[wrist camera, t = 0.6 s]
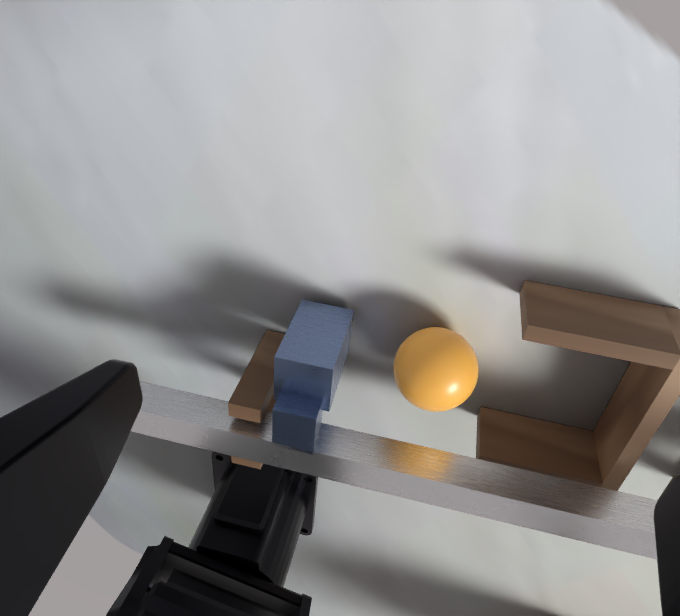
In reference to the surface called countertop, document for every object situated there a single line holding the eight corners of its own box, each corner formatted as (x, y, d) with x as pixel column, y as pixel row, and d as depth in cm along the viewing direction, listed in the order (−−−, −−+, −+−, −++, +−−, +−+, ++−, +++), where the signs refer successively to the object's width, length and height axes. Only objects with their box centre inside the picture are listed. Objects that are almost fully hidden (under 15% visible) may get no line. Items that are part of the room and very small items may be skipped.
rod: (802, 508, 26) (920, 743, 18) (157, 363, 30) (50, 510, 23) (893, 418, 22) (1087, 670, 15) (141, 266, 26) (7, 406, 19)
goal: (602, 444, 27) (613, 497, 24) (477, 416, 27) (475, 465, 25) (680, 309, 22) (703, 359, 19) (524, 280, 22) (528, 325, 20)
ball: (469, 379, 26) (466, 437, 23) (394, 363, 26) (382, 418, 24) (488, 319, 24) (487, 376, 21) (405, 303, 24) (394, 356, 21)
